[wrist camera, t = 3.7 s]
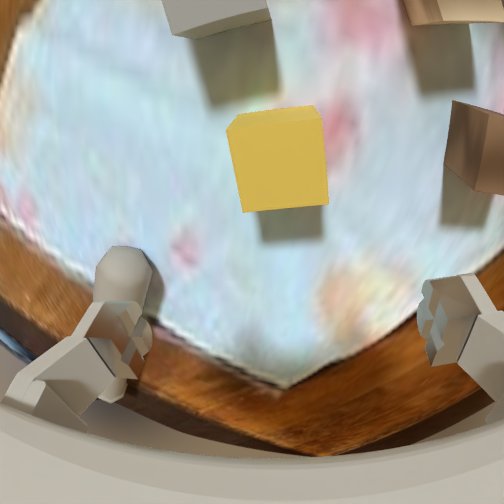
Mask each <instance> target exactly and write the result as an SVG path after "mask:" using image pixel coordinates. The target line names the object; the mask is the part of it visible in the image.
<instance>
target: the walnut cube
mask: <svg viewBox="0 0 504 504" xmlns="http://www.w3.org/2000/svg"><path fill="white" fill-rule="evenodd" d="M443 164H444V165H446V166H447V167H448V168H449V169H450V170H451V171H453V172H454V173H455V174H456V175H457V176H458V177H460V178H461V179H462V180H463V181H464V182H465V183H466V184H467V185H469V186H470V187H471V188H472V189H473V190H474V191H480V192H486V193H492V194H498V195H504V115H503V114H500V113H497V112H494V111H490V110H487V109H484V108H480V107H477V106H473V105H470V104H466V103H462V102H458V101H454V100H452V109H451V118H450V125H449V132H448V139H447V145H446V151H445V157H444V163H443Z"/></svg>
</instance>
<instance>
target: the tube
mask: <svg viewBox="0 0 504 504" xmlns="http://www.w3.org/2000/svg"><path fill="white" fill-rule="evenodd" d="M152 273H153V270H152V269H151V267H150V265H149V263H148V262H147V260H146V258H145V256H144V254H143V253H142V251H141V249H138V248H133V247H128V246H112V247H111V248H110V249H109V250H108V252H107V253H106V254H105V255H104V257H103V258H102V259H101V261H100V262H99V263H98V265H97V266H96V272H95V282H94V294H93V302H95V301H135V302H137V303H138V304H139V305H140V307H141V309H142V311H143V307H144V303H145V299H146V295H147V291H148V288H149V284H150V280H151V277H152ZM141 315H142V314H141ZM126 381H127V378H116V377H115V380H114V381H113V382H112V383H111V384H110V385H109V386H108V387H107V388H106V389H105V390H104V391H103V392H102V393H101V394H100V395H99V396H98V398H100V399H102V400H104V401H107V402H109V403H113V402H115V401H116V400H118V399H120V398H122V397H123V396H124V393H125V390H126V388H127V385H128V384H127V383H126Z"/></svg>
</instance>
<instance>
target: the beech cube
mask: <svg viewBox="0 0 504 504" xmlns="http://www.w3.org/2000/svg"><path fill="white" fill-rule="evenodd" d="M403 3H404V6H405V9H406V12H407V14H408V17H409V20H410V24H411V26H418V25H433V24H470V23H494V22H504V8H503V4H502V1H501V0H403Z"/></svg>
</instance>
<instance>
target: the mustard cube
mask: <svg viewBox="0 0 504 504" xmlns="http://www.w3.org/2000/svg"><path fill="white" fill-rule="evenodd" d="M226 133H227V138H228V143H229V147H230V152H231V157H232V162H233V167H234V172H235V177H236V182H237V186H238V191H239V196H240V201H241V206H242V211H243V213H245V212H255V211H264V210H274V209H284V208H294V207H304V206H315V205H327V204H329V197H328V182H327V169H326V158H325V147H324V137H323V127H322V118H321V117H320V115H319V113H318V112H317V110H316V109H315V107H314V106H313V105H310V106H299V107H289V108H280V109H272V110H264V111H257V112H250V113H244V114H238V115H237V117H236V118H235V119H234V120H233V122H232V123H231V124H230V125H229V127H228V128H227V129H226Z"/></svg>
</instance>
